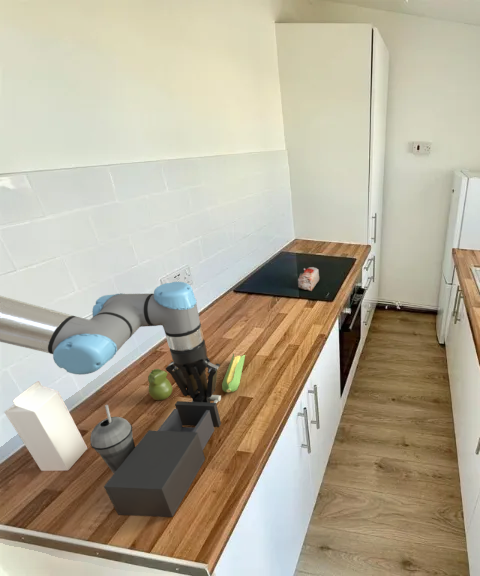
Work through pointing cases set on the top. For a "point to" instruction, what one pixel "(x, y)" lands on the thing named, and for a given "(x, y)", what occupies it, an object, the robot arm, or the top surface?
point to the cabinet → (156, 474)
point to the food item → (308, 279)
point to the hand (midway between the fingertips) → (204, 413)
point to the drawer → (194, 418)
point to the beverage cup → (113, 440)
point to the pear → (159, 385)
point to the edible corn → (233, 374)
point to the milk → (46, 428)
